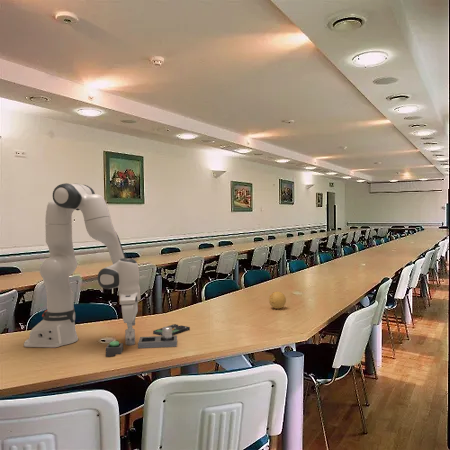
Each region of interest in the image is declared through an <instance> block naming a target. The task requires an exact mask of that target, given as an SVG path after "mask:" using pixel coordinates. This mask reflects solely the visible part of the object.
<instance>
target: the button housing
mask: <svg viewBox="0 0 450 450" xmlns="http://www.w3.org/2000/svg"><path fill="white" fill-rule="evenodd" d="M123 350H124V342H119V345H118V346H115V347H112V346H110V342H109V343H107V345H106V347H105V357H106V358H107V357H108V358H110V357H116V355H122V353H123Z"/></svg>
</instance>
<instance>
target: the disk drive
mask: <svg viewBox="0 0 450 450" xmlns="http://www.w3.org/2000/svg"><path fill="white" fill-rule="evenodd" d="M168 326H169V327H172V336H176V335H179V334H182V333H185V332H188V331H190V330H191V327H190V326H185V325H179V324H176V323H174V324H171V325H168ZM152 334H153V335H156V336H163V327H161V328H157V329H155V330H152Z"/></svg>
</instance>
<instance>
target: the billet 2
mask: <svg viewBox="0 0 450 450" xmlns="http://www.w3.org/2000/svg"><path fill="white" fill-rule="evenodd" d="M169 326H170V325H167V326H163V327H162V328H163V341H172V327H169Z"/></svg>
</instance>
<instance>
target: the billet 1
mask: <svg viewBox="0 0 450 450" xmlns="http://www.w3.org/2000/svg"><path fill="white" fill-rule="evenodd" d="M124 332H125V337H124V338H125V346H128V347H129V346H130V347H131V346H134V345H136V330H135V328H133V330H132V331H131V332H129V331H128V328H126V329H125V331H124Z"/></svg>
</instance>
